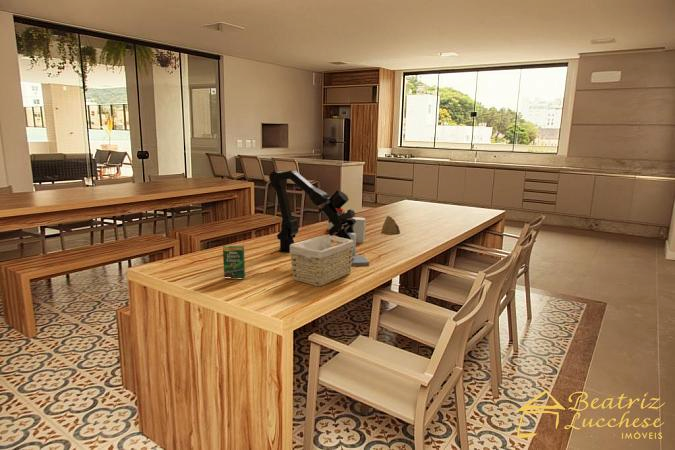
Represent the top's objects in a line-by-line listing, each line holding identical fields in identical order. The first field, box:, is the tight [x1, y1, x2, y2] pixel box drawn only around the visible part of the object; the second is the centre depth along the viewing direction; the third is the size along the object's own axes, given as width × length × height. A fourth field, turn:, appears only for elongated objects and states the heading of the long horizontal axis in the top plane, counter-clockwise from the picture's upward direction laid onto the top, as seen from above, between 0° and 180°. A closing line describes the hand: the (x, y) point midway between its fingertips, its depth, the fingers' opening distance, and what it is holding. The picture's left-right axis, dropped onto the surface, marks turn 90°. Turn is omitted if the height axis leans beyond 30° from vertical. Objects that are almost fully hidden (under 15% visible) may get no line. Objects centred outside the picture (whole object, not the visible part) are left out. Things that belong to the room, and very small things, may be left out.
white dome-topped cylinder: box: [348, 233, 357, 256], centre depth 198 cm, size 4×4×10 cm
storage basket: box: [289, 234, 354, 287], centre depth 176 cm, size 24×16×15 cm
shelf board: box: [351, 254, 370, 267], centre depth 199 cm, size 14×12×2 cm
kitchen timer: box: [326, 207, 346, 234], centre depth 262 cm, size 14×14×15 cm
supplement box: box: [352, 216, 367, 244], centre depth 238 cm, size 7×7×13 cm
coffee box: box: [222, 245, 246, 279], centre depth 170 cm, size 8×3×13 cm, turn 90°
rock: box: [380, 215, 401, 234], centre depth 261 cm, size 11×9×10 cm
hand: (353, 241), depth 197 cm, fingers closed on white dome-topped cylinder, 4 cm apart
